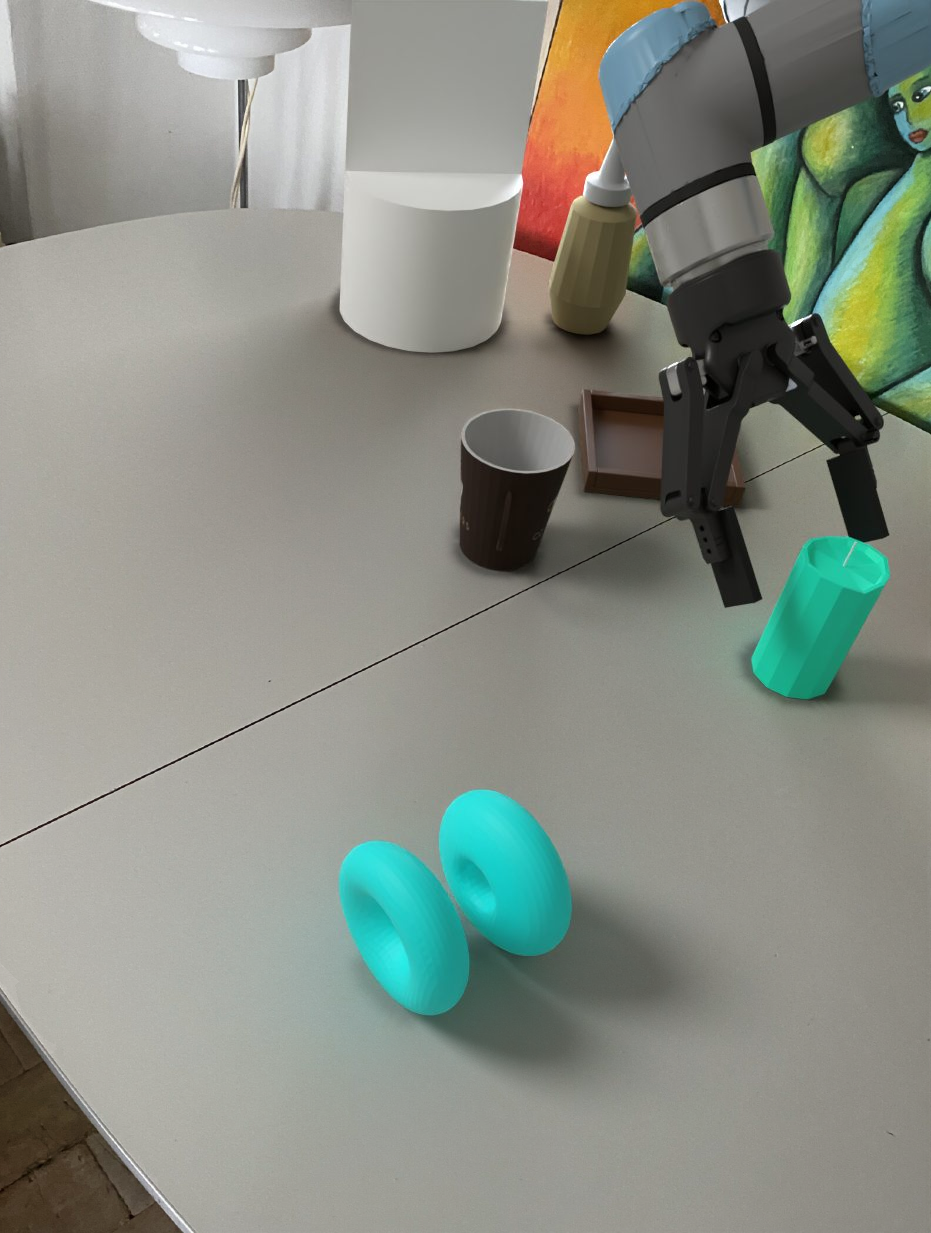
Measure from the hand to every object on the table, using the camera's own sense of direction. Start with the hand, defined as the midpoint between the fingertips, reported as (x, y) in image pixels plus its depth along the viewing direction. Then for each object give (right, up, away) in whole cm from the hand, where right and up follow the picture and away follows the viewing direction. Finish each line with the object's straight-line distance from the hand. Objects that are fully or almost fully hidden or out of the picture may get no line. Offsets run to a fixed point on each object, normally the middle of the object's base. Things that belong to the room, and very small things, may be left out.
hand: (809, 571), depth 74 cm
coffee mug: (-21, +3, +12) cm, 25 cm away
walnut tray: (-5, +15, +23) cm, 28 cm away
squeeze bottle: (-8, +33, +39) cm, 52 cm away
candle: (+1, -7, +5) cm, 9 cm away
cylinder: (-25, +34, +39) cm, 57 cm away
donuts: (-27, -24, -12) cm, 38 cm away
